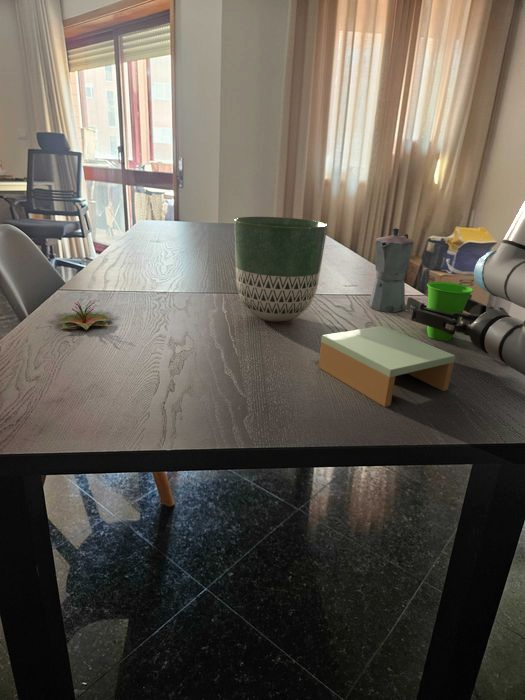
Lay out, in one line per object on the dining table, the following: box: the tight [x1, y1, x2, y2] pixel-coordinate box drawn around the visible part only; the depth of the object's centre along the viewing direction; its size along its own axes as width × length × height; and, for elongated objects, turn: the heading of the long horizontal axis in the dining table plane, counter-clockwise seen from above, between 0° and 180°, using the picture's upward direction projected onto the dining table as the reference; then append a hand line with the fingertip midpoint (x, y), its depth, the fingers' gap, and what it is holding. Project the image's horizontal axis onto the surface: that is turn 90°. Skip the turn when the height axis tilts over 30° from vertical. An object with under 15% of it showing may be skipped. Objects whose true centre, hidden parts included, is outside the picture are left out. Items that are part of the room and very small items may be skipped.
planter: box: [234, 216, 328, 323], centre depth 103 cm, size 20×20×21 cm
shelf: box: [318, 325, 456, 408], centre depth 77 cm, size 16×14×6 cm
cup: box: [426, 281, 474, 342], centre depth 99 cm, size 9×9×11 cm
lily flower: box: [53, 300, 115, 331], centre depth 95 cm, size 12×12×5 cm
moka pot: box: [368, 228, 414, 313], centre depth 118 cm, size 10×15×20 cm, turn 145°
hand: (437, 303), depth 101 cm, fingers open, 13 cm apart
